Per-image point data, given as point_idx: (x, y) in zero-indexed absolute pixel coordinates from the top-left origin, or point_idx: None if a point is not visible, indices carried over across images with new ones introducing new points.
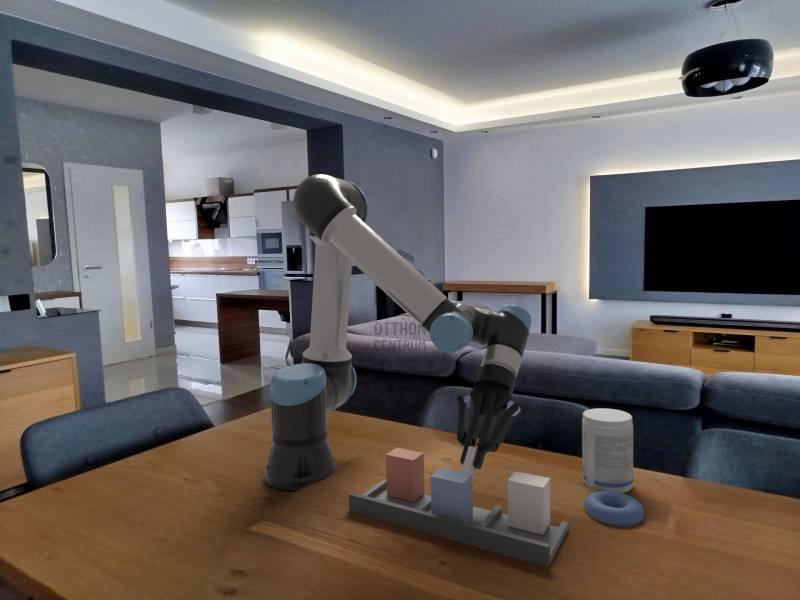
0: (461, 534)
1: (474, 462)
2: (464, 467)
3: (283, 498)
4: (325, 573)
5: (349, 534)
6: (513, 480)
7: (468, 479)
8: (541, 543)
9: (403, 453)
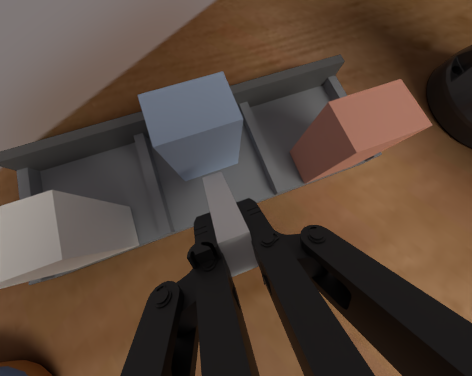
0: None
1: (209, 218)
2: (222, 188)
3: (416, 58)
4: (236, 18)
5: (285, 67)
6: (35, 200)
7: (147, 125)
8: (5, 155)
9: (383, 112)
